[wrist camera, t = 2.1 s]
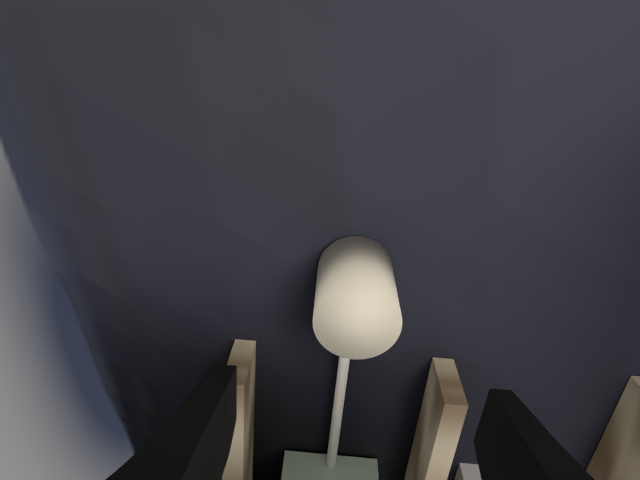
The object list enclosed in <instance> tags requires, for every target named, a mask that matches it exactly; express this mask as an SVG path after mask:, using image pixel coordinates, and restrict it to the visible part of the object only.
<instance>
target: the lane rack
mask: <svg viewBox="0 0 640 480" xmlns="http://www.w3.org/2000/svg"><path fill="white" fill-rule="evenodd" d="M255 361H256V341H252V340H241V339H235V341H234V344H233V347H232V350H231V353H230V356H229V359H228V362H227V365H235V366H237V419H236V424H235V429H234V434H233V439H232V444H231V448H230V453H229V457H228V460H227V463H226V466H225V469H224V472H223V475H222V480H253V440H254V400H255ZM467 410H468V403H467V400H466V397H465V394H464V390H463V387H462V384H461V381H460V378H459V375H458V372H457V369H456V365H455V362H454V359H447V358H436V357H433V358H432V362H431V367H430V371H429V375H428V380H427V384H426V388H425V392H424V397H423V401H422V405H421V410H420V414H419V418H418V423H417V427H416V431H415V436H414V440H413V444H412V448H411V453H410V457H409V461H408V466H407V470H406V474H405V479H404V480H447V478H448V475H449V472H450V468H451V465H452V461H453V458H454V454H455V451H456V447H457V444H458V441H459V437H460V434H461V430H462V427H463V423H464V420H465V416H466V413H467ZM586 472H587V473H588V474H590V475H591V476H592V477H593V478H594V479H595V480H640V376H631V377H630V379H629V381H628V383H627V385H626V387H625V389H624V391H623V394H622V396H621V398H620V400H619V402H618V404H617V406H616V408H615V410H614V413H613V415H612V417H611V419H610V421H609V423H608V425H607V427H606V429H605V431H604V434H603V436H602V438H601V440H600V442H599V444H598V446H597V448H596V450H595V453H594V455H593V457H592V459H591V461H590V463H589V465H588V467H587V469H586Z"/></svg>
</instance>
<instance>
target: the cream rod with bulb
mask: <svg viewBox="0 0 640 480" xmlns="http://www.w3.org/2000/svg"><path fill="white" fill-rule="evenodd" d="M401 329H402V315H401V310H400V305H399V300H398V294H397V289H396V284H395V279H394V274H393V269H392V263H391V259H390V257H389V255H388V253H387V251H386V250H385V249H384V248H383V247H382V246H381V245H380V244H379V243H377V242H376V241H374V240H372V239H369V238H366V237H361V236H349V237H344V238H341V239H339V240H337V241H335V242H333V243H332V244H330V245H329V246H328V247H327V248H326V249H325V250H324V252H323V253H322V255H321V257H320V260H319V263H318V272H317V282H316V292H315V302H314V312H313V330H314V333H315V336H316V338H317V339H318V341H319V342H320V343H321V345H322V346H323V347H324V348H326V349H327V350H328V351H330V352H331V353H333V354H335V355H337V356H339V363H338V371H337V379H336V387H335V395H334V404H333V412H332V420H331V428H330V436H329V444H328V452H327V454H318V453H308V452H297V451H286V450H285V454H284V462H283V469H282V477H281V480H379V476H378V463H377V459H372V458H361V457H351V456H340V455H337V450H338V443H339V436H340V428H341V421H342V413H343V406H344V399H345V391H346V384H347V377H348V369H349V362H350V359H368V358H372V357H375V356H378V355H380V354H382V353H384V352H385V351H387V350H388V349H389V348H390V347H392V346H393V344H394V343H395V342H396V341H397V339H398V338H399V335H400V333H401Z"/></svg>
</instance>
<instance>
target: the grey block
mask: <svg viewBox="0 0 640 480" xmlns="http://www.w3.org/2000/svg"><path fill="white" fill-rule="evenodd" d="M454 480H482V479H481V475H480V470H479V465H478V464H467V463H459V466H458V469H457V472H456V476H455V479H454Z"/></svg>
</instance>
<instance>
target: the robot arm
mask: <svg viewBox="0 0 640 480" xmlns="http://www.w3.org/2000/svg"><path fill="white" fill-rule="evenodd" d="M236 419H237V366H235V365H224V364H214V365H213V366H212V367H211V368H210V370H209V371H208V372H207V374H206V375H205V377H204V378H203V379H202V381H201V382H200V383H199V385H198V386H197V387H196V388H195V390H194V391H193V392H192V393H191V395H190V396H189V397H188V398H187V399H186V401H185V402H184V403H183V404H182V405H181V406H180V408H179V409H178V410H177V411H176V412H175V413H174V415H173V416H172V417H171V418H170V419H169V420H168V421H167V422H166V423H165V424H164V425H163V427H162V428H161V429H160V430H159V431H158V432H157V433H156V434H155V435H154V436H153V437H152V438H151V439H150V440H149V441H148V442H147V443H146V444H145V445H144V446H143V447H142V448H141V449H140V450H139V451H138V452H137V453H136V454H135V455H133V456H132V457H131V458H130V459H129V460H128V461H127V462H126V463H125V464H124V465H122V466H121V467H120V468H119V469H118V470H117V471H116V472H114V473H113V474H112V475H111V476H109V477H108V478H107V479H106V480H221V479H222V475H223V472H224V469H225V466H226V463H227V460H228V457H229V453H230V448H231V444H232V439H233V434H234V429H235V424H236ZM474 444H475V450H476V455H477V461H478V465H479V470H480V475H481V479H482V480H595V479H594V478H593V477H592V476H591V475H590V474H588V473H587V472H586V471H585V470H584V469H583V468H582V467H581V466H580V465H579V464H578V463H577V462H576V461H575V460H574V458H573V457H572V456H571V455H570V454H569V453H568V452H567V451H566V450H565V449H564V448H563V447H562V446H561V445H560V444H559V443H558V442H557V441H556V439H555V438H554V437H553V436H552V435H551V434H550V433H549V432H548V431H547V430H546V428H545V427H544V426H543V425H542V424H541V423H540V422H539V421H538V420H537V418H536V417H535V416H534V415H533V414H532V413H531V412H530V411H529V409H528V408H527V407H526V406H525V405H524V404H523V403H522V402H521V400H520V399H519V398H518V397H517V396H516V395H515V394H514V393H513V392H512V391H511V390H501V389H490V390H489V393H488V396H487V399H486V403H485V406H484V409H483V412H482V416H481V419H480V422H479V425H478V429H477V432H476V435H475V438H474Z"/></svg>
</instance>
